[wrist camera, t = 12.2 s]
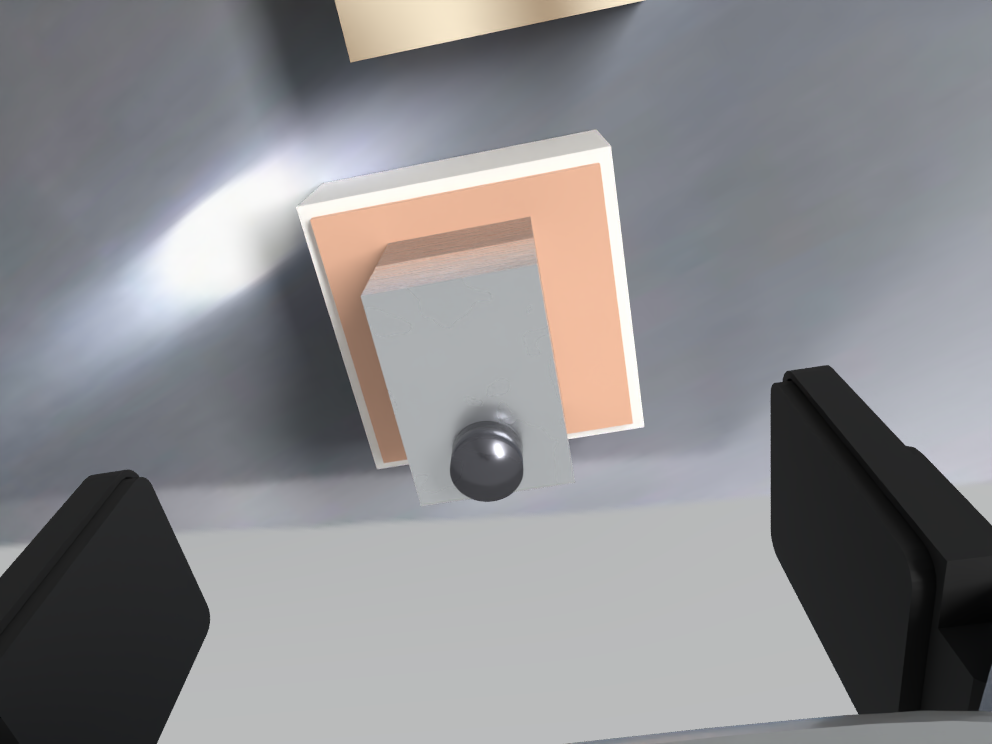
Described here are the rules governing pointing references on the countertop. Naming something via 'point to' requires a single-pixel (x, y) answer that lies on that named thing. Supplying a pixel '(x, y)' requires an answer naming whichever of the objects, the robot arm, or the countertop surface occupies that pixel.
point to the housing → (470, 362)
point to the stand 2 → (475, 202)
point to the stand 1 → (443, 20)
